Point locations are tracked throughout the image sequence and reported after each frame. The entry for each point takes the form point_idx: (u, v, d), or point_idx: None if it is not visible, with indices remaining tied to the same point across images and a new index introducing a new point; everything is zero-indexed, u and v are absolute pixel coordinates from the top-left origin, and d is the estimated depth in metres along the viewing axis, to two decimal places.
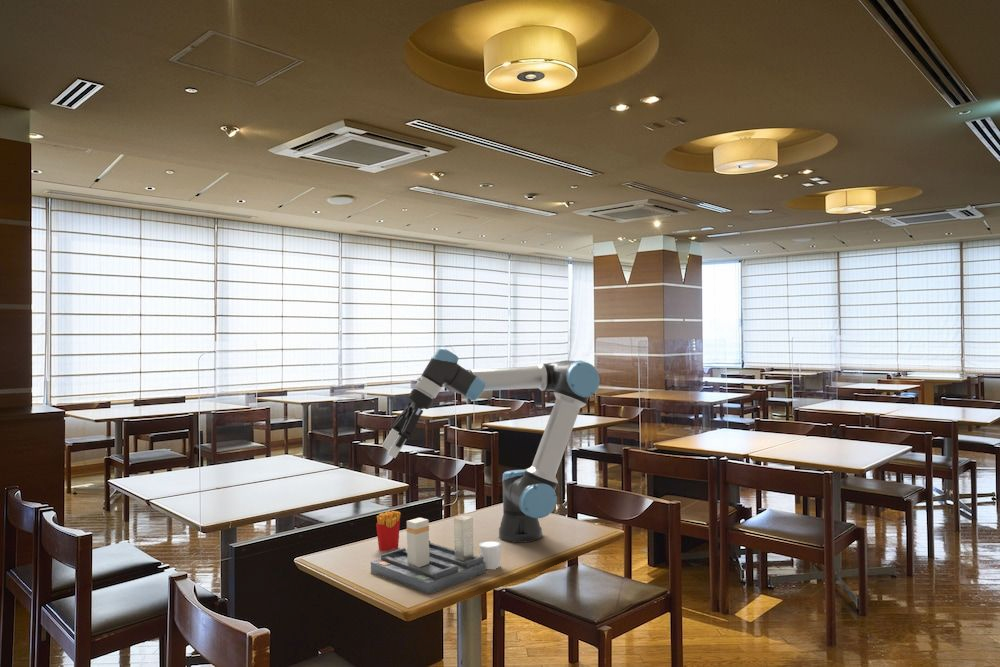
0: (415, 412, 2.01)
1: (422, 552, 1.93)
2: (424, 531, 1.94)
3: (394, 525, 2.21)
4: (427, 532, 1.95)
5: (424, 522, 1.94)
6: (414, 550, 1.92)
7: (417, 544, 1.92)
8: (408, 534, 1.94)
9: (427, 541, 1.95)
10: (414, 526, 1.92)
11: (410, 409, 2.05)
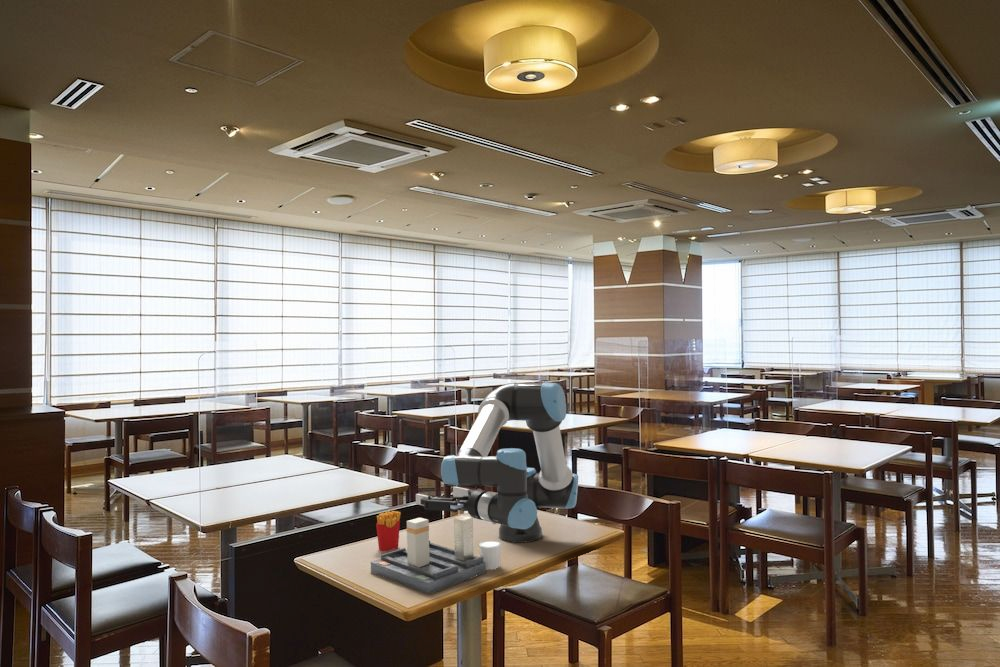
0: None
1: (422, 552, 1.93)
2: (424, 531, 1.94)
3: (394, 525, 2.21)
4: (427, 532, 1.95)
5: (424, 522, 1.94)
6: (414, 550, 1.92)
7: (417, 544, 1.92)
8: (408, 534, 1.94)
9: (427, 541, 1.95)
10: (414, 526, 1.92)
11: None
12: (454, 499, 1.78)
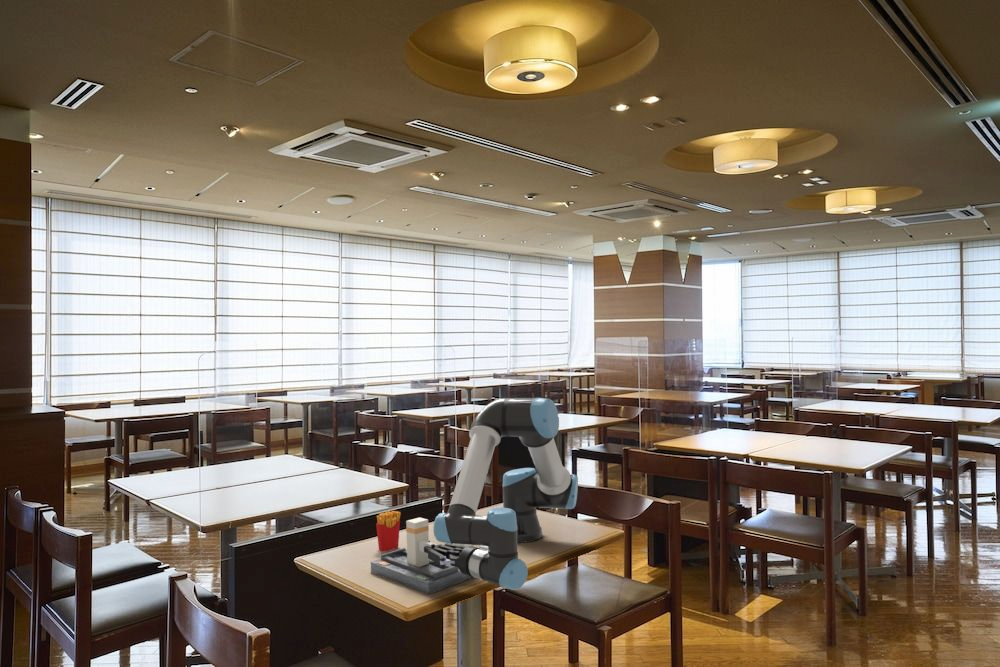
0: None
1: (421, 552, 1.94)
2: (423, 531, 1.94)
3: (394, 525, 2.21)
4: (427, 532, 1.95)
5: (423, 522, 1.94)
6: (414, 550, 1.92)
7: (417, 544, 1.92)
8: (408, 534, 1.94)
9: (427, 541, 1.95)
10: (414, 526, 1.92)
11: None
12: (447, 553, 1.82)
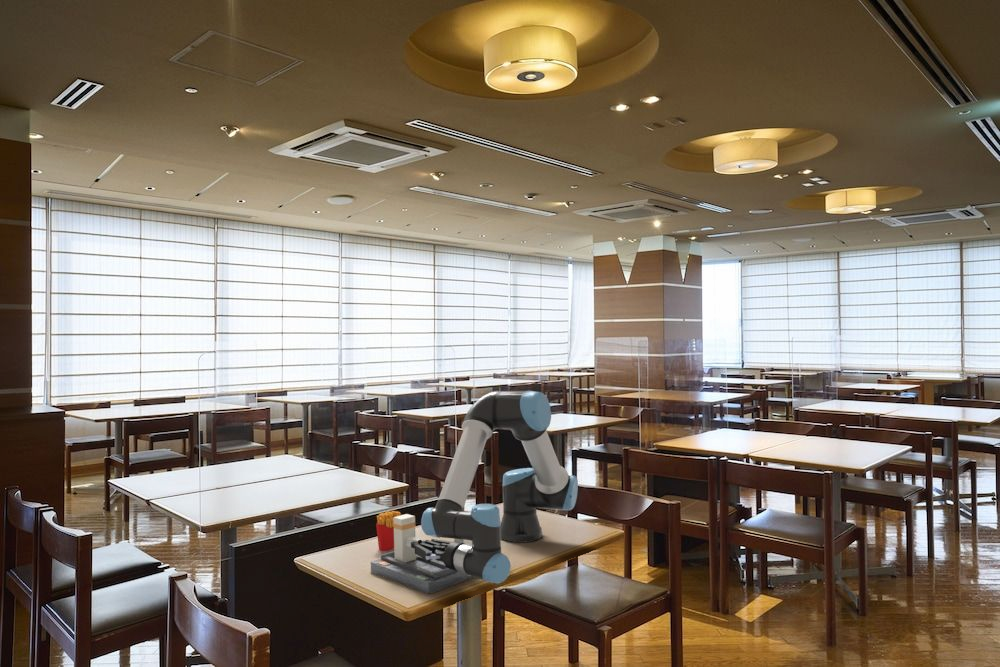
0: None
1: (408, 548, 1.98)
2: (410, 527, 1.99)
3: None
4: (413, 528, 1.99)
5: (410, 519, 1.99)
6: (401, 545, 1.97)
7: (404, 540, 1.97)
8: (395, 530, 1.99)
9: None
10: (401, 522, 1.97)
11: None
12: (433, 548, 1.87)
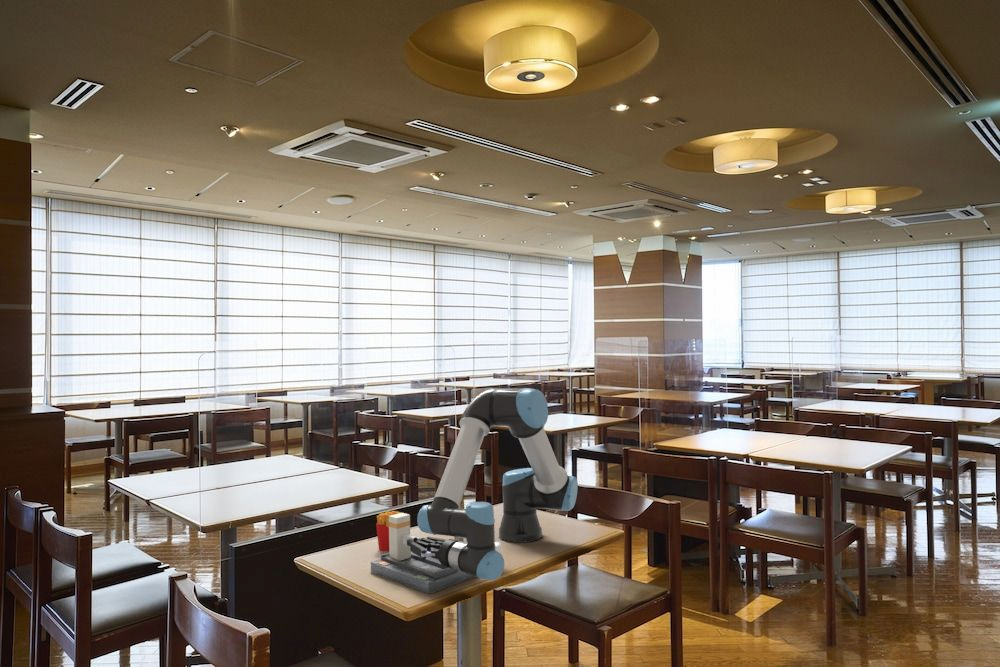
0: None
1: (403, 546, 2.00)
2: (405, 525, 2.00)
3: None
4: (408, 527, 2.01)
5: (405, 517, 2.00)
6: (396, 544, 1.98)
7: (399, 539, 1.98)
8: (390, 529, 2.00)
9: None
10: (395, 521, 1.98)
11: None
12: (429, 545, 1.89)
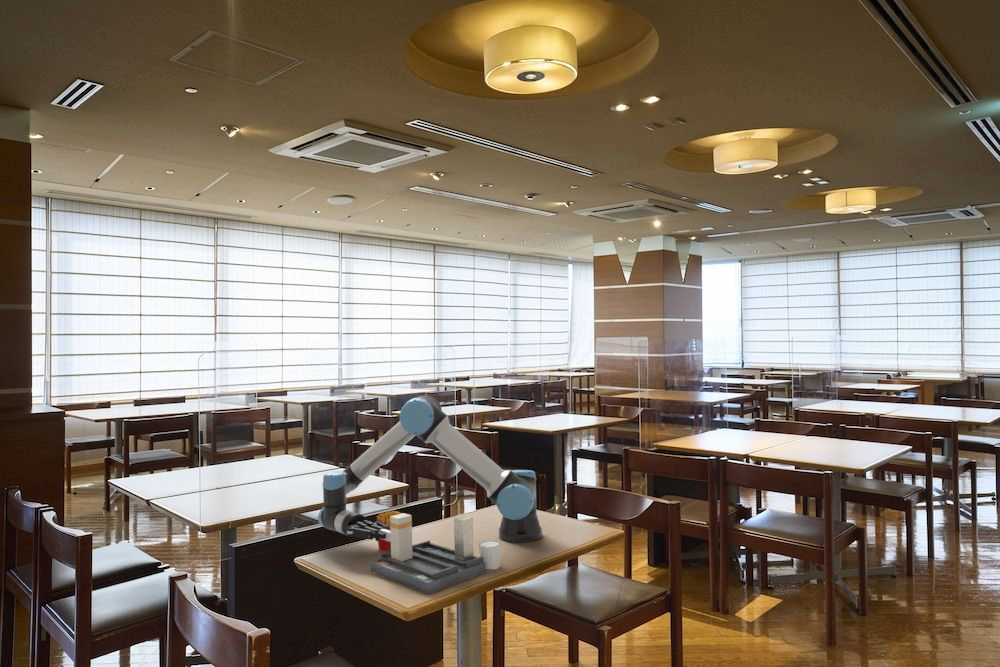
0: (351, 534, 2.08)
1: (405, 547, 1.99)
2: (407, 526, 2.00)
3: None
4: (410, 527, 2.01)
5: (407, 518, 2.00)
6: (397, 544, 1.98)
7: (400, 539, 1.98)
8: (391, 529, 2.00)
9: (410, 536, 2.01)
10: (397, 521, 1.98)
11: None
12: None
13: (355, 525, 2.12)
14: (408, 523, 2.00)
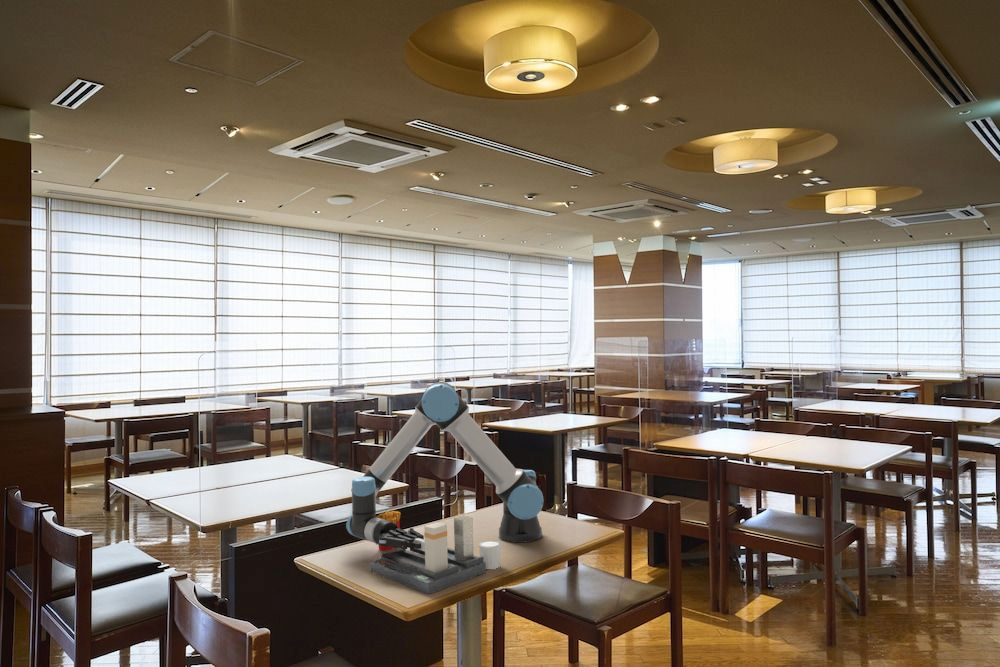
0: (384, 544, 1.97)
1: (440, 558, 1.88)
2: (442, 536, 1.89)
3: None
4: (445, 537, 1.89)
5: (442, 527, 1.89)
6: (432, 556, 1.86)
7: (435, 550, 1.87)
8: (426, 539, 1.88)
9: (445, 547, 1.89)
10: (432, 531, 1.86)
11: None
12: None
13: (387, 534, 2.01)
14: (443, 533, 1.89)
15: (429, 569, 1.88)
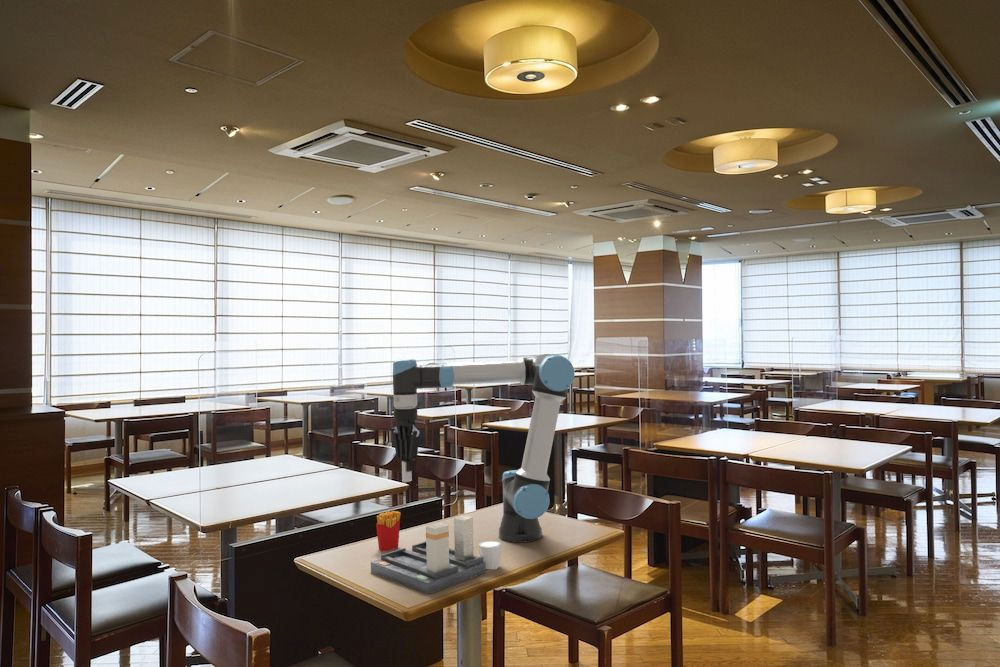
0: (415, 436, 2.07)
1: (441, 558, 1.87)
2: (444, 536, 1.88)
3: (394, 525, 2.21)
4: (447, 538, 1.89)
5: (443, 528, 1.88)
6: (434, 556, 1.86)
7: (437, 551, 1.86)
8: (427, 540, 1.88)
9: (447, 547, 1.89)
10: (434, 532, 1.86)
11: (405, 430, 2.09)
12: None
13: None
14: (445, 533, 1.88)
15: (430, 570, 1.87)
